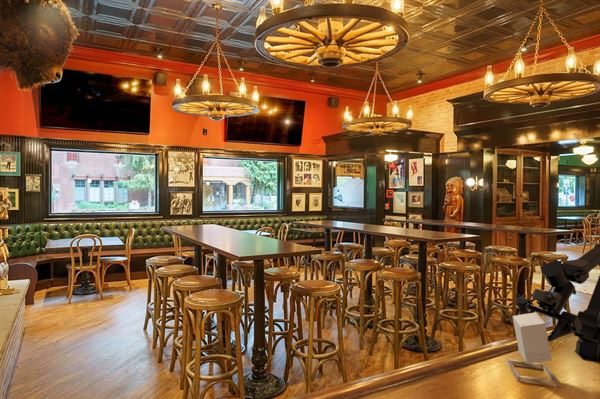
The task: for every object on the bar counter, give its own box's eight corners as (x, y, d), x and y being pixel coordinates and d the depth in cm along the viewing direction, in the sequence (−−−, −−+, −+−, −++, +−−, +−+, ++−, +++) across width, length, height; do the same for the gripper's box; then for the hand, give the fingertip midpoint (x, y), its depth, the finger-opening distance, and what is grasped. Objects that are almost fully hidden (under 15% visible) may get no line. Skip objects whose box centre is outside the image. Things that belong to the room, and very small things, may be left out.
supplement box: (552, 361, 125) (546, 323, 122) (526, 364, 126) (519, 327, 124) (543, 347, 132) (536, 311, 130) (518, 350, 133) (511, 315, 131)
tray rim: (544, 368, 134) (544, 363, 134) (559, 387, 123) (560, 382, 123) (506, 363, 136) (506, 358, 136) (517, 381, 125) (517, 376, 125)
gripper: (521, 272, 137) (496, 309, 133) (580, 289, 120) (554, 331, 116) (533, 292, 141) (509, 328, 137) (592, 311, 125) (567, 353, 121)
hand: (533, 334), depth 128 cm, fingers closed on supplement box, 9 cm apart
